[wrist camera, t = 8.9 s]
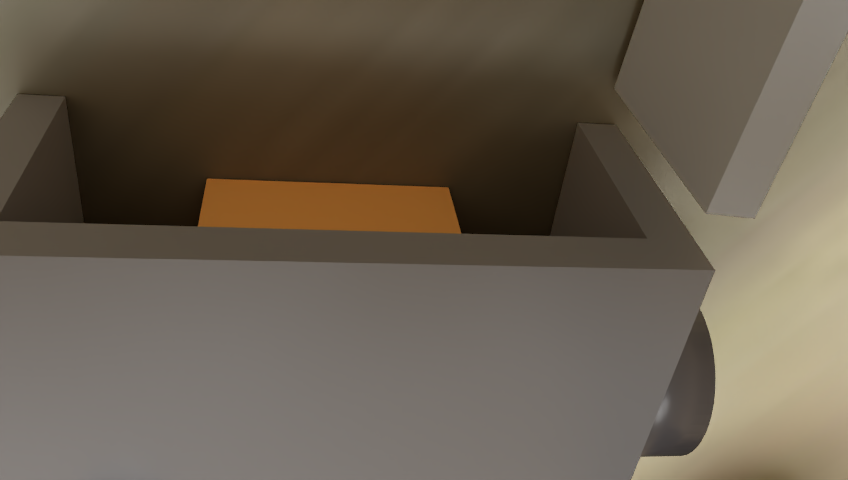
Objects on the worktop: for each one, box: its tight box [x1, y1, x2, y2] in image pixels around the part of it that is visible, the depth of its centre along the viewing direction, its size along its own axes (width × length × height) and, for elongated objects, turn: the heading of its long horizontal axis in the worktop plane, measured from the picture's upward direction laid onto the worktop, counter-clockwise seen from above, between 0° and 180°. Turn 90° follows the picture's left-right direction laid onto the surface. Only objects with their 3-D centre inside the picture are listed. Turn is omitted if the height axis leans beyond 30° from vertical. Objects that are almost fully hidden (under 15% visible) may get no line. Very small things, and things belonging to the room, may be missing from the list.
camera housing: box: [0, 94, 715, 480], centre depth 19 cm, size 16×10×7 cm, turn 83°
